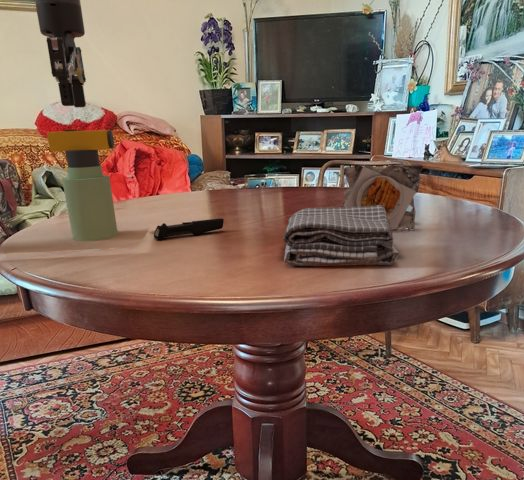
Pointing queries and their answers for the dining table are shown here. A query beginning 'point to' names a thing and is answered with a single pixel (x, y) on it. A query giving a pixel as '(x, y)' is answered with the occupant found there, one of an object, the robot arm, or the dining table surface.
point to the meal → (385, 190)
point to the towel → (339, 237)
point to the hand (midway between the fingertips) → (74, 106)
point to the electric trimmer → (188, 228)
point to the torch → (80, 140)
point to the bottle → (88, 197)
